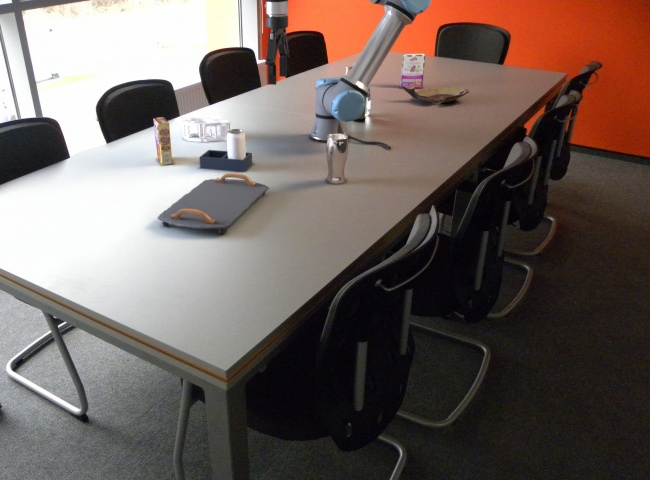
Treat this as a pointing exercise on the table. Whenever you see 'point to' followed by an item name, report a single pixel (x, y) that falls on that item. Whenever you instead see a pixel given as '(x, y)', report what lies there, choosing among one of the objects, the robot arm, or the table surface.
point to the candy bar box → (412, 70)
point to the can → (236, 144)
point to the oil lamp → (437, 93)
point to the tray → (224, 161)
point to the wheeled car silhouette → (201, 128)
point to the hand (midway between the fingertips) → (277, 80)
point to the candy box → (163, 140)
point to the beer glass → (336, 157)
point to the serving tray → (214, 203)
